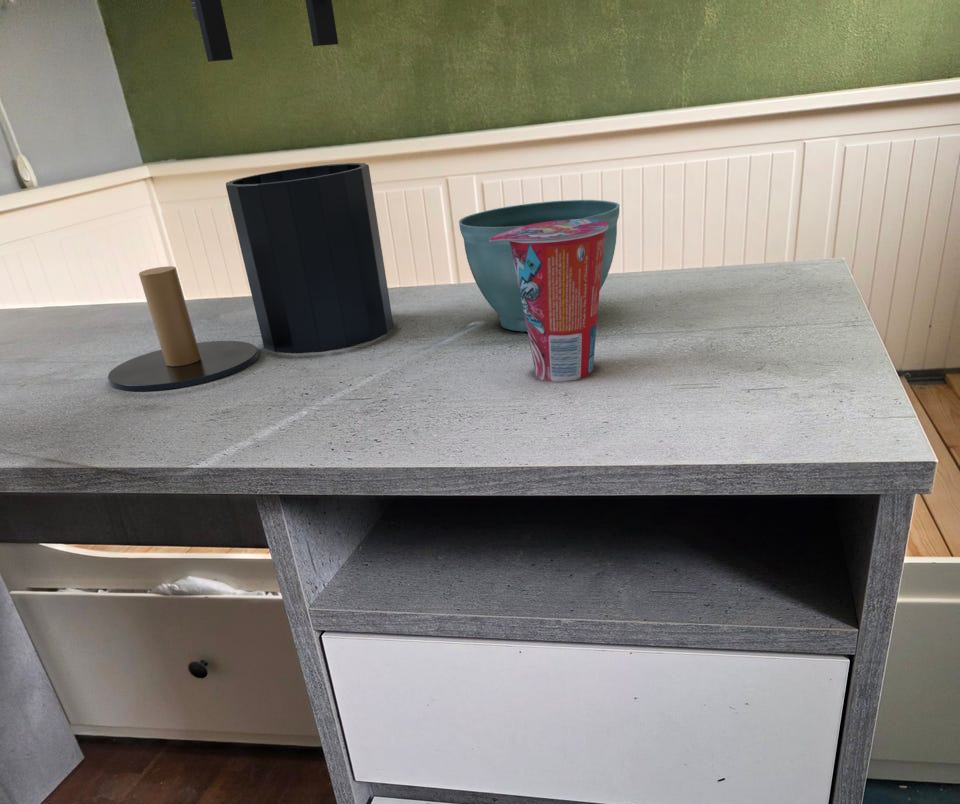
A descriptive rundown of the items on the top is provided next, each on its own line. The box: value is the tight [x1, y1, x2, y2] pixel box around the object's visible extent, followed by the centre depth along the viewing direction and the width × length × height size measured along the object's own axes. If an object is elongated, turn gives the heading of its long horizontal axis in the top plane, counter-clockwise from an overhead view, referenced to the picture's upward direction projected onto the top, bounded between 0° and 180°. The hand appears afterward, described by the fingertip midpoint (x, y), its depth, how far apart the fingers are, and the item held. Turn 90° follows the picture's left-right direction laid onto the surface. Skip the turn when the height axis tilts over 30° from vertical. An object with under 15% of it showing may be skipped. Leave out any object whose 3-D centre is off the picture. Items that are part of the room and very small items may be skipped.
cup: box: [489, 219, 608, 383], centre depth 75 cm, size 9×8×12 cm
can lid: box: [107, 265, 260, 392], centre depth 90 cm, size 15×15×10 cm
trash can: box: [225, 162, 394, 355], centre depth 93 cm, size 14×14×16 cm
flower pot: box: [458, 199, 621, 333], centre depth 91 cm, size 16×16×11 cm
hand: (271, 53), depth 83 cm, fingers open, 13 cm apart
